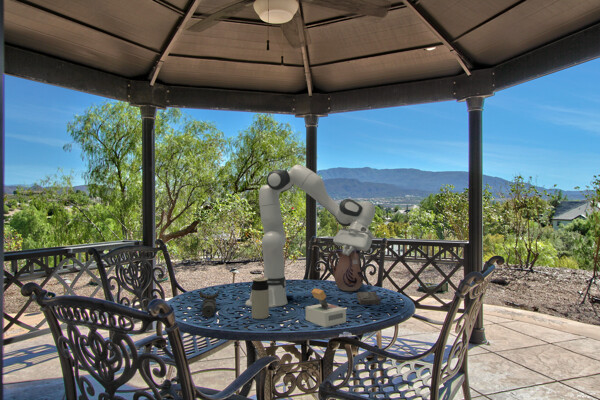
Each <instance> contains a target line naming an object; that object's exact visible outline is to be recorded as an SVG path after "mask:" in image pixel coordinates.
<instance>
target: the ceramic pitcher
mask: <svg viewBox="0 0 600 400" xmlns="http://www.w3.org/2000/svg"><path fill="white" fill-rule="evenodd" d="M349 249H350V248H348V249H346V251H348V250H349ZM342 252H343V248H342V249H333V250H331V251H330V252H329V254H328V262H329V264H330V266H331V268H332V271H333V273H332V275H333V278H334V281H335V282H334V283H335V285H336V286H337V288H338V289H340V291H343V292H354V291H355V292H356V291H358V290H359V289H360V288H361V287H362V285H363V283H364V273H363V268H362V264H361V261H360V250H358V249H354V250H353V251H352V252H351V253H350V254H349V256H348V255H343V253H342ZM335 253H336V254H337V255H338V258H339V259H338V261H337V263H336V266H334V265H335V264H334V263H333V260H332V255H333V254H335Z"/></svg>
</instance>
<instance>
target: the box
mask: <svg viewBox="0 0 600 400" xmlns="http://www.w3.org/2000/svg"><path fill="white" fill-rule="evenodd" d="M356 298H357V300H358V303H359V305H360V306H361V305H365V306H366V305H373V306H374V305H381V299H380V297H379V296H378V294H377V292H376V291H358V292H356Z"/></svg>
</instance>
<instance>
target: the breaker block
mask: <svg viewBox="0 0 600 400" xmlns="http://www.w3.org/2000/svg"><path fill="white" fill-rule="evenodd" d="M327 304H328V307H327V308H325V307H322V306H321V304H320V303H319V304H314V305H308V306H305V321H307V322H310V323H312V324H316V325H317V326H318V325H319V326H321V327H322V328H329V327H332V326H337V325H341V324H346V322H347V308H345V307H341V306H338V305H334V304H331V303H328V302H327Z"/></svg>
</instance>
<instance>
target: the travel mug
mask: <svg viewBox="0 0 600 400" xmlns="http://www.w3.org/2000/svg"><path fill="white" fill-rule="evenodd" d="M251 280H252V284H251V292H252V306H251V318H252V319H255V320H265V319H268V318H269V317H270V314H269V313H270V312H269V311H270V310H269V309H270V307H269V285H268V283H267V280H268V278H265V277H263V276H262V277H261V276H259V277H253V278H252V279H251Z"/></svg>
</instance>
